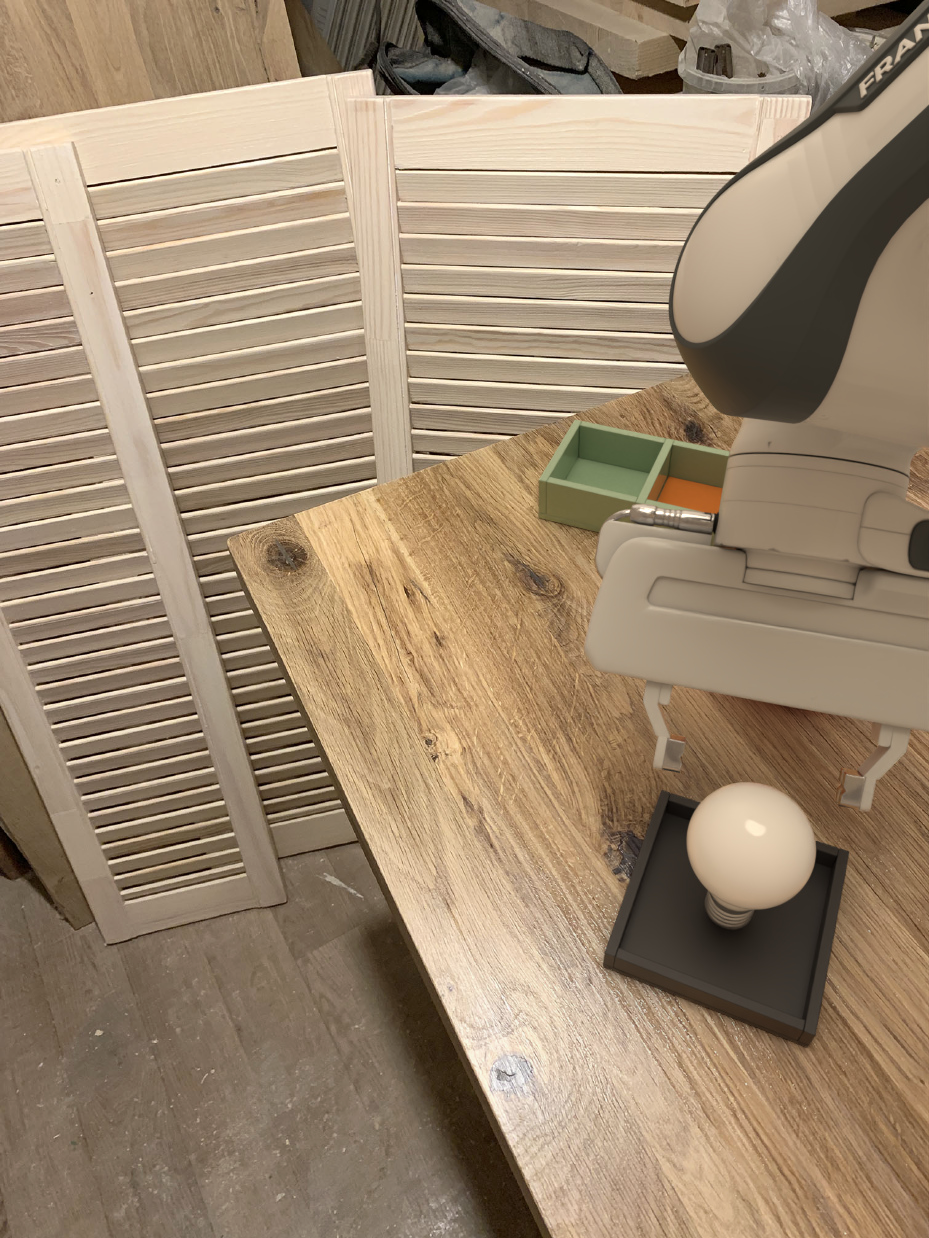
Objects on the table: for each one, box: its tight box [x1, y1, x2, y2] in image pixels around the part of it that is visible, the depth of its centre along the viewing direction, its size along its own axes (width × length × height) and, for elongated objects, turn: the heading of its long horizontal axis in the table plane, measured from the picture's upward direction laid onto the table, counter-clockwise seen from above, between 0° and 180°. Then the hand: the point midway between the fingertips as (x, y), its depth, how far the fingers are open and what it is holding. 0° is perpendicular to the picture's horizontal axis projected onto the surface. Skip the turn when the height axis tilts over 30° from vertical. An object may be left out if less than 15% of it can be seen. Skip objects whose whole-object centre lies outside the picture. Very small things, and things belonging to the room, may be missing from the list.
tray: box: [602, 789, 850, 1048], centre depth 53 cm, size 11×11×2 cm
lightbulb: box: [686, 781, 817, 929], centre depth 49 cm, size 6×6×11 cm
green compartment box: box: [538, 419, 730, 547], centre depth 75 cm, size 25×9×4 cm, turn 66°
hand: (756, 787), depth 49 cm, fingers open, 8 cm apart
